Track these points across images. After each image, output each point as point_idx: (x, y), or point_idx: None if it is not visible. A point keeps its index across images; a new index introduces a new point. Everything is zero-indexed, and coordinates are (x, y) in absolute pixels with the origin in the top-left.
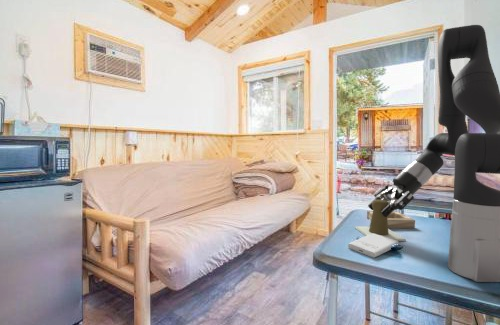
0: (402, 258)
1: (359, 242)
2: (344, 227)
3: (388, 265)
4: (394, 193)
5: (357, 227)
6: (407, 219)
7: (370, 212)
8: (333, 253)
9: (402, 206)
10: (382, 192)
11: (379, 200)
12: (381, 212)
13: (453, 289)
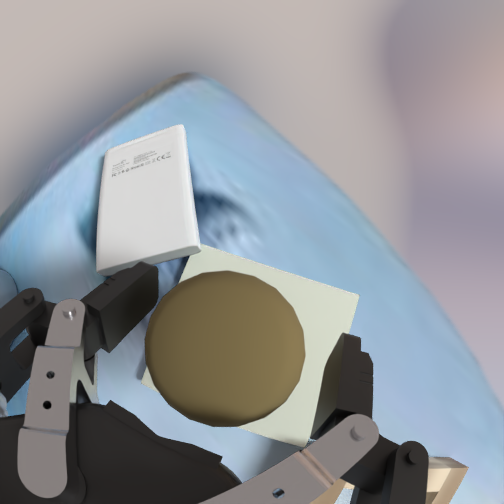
0: (75, 227)
1: (164, 149)
2: (375, 252)
3: (80, 167)
4: (36, 405)
5: (342, 294)
6: None
7: (446, 469)
8: (179, 94)
9: (28, 340)
10: (294, 489)
11: (201, 319)
12: (147, 263)
13: (6, 212)
